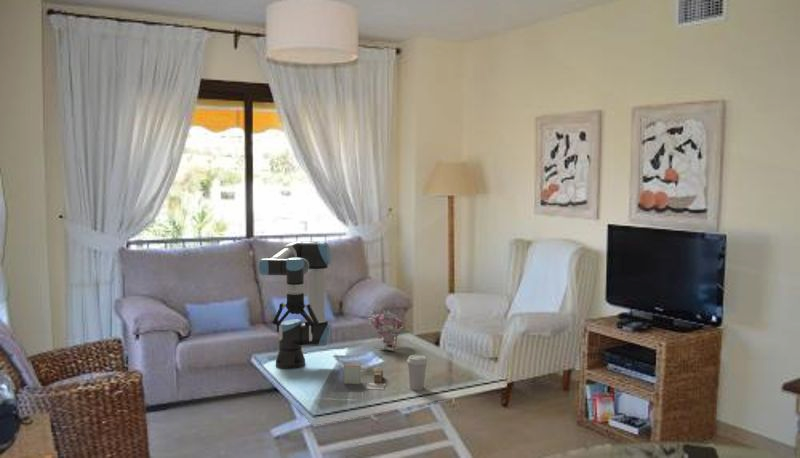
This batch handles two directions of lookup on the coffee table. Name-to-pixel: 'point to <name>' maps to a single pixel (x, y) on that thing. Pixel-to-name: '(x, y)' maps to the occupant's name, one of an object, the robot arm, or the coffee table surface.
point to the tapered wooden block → (377, 381)
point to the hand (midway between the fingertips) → (295, 339)
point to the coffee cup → (417, 371)
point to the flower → (387, 327)
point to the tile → (352, 374)
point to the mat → (350, 387)
